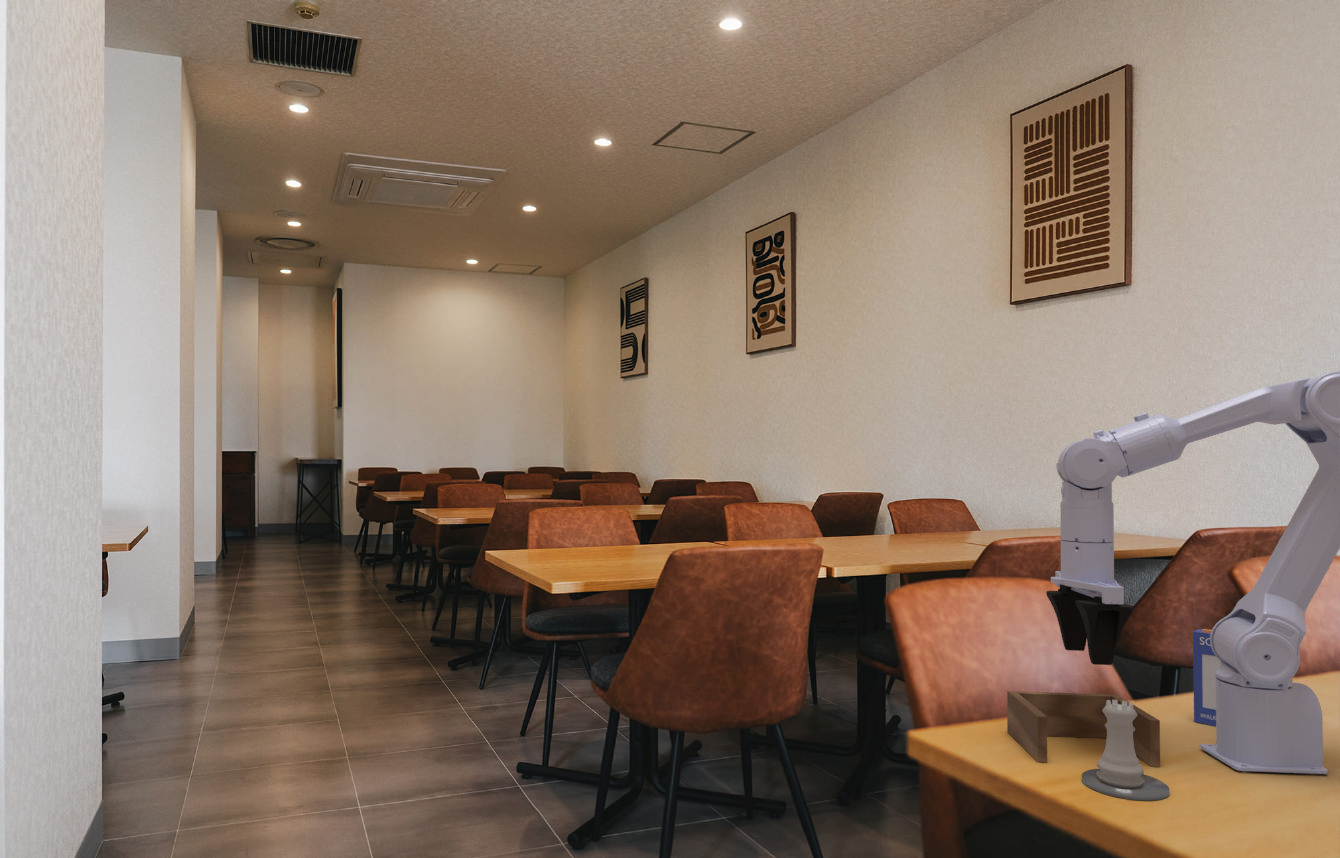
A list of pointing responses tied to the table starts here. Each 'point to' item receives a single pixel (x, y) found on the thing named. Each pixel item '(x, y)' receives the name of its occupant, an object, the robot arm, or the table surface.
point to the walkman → (1204, 678)
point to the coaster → (1146, 792)
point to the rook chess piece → (1120, 748)
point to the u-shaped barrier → (1073, 722)
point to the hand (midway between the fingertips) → (1087, 657)
